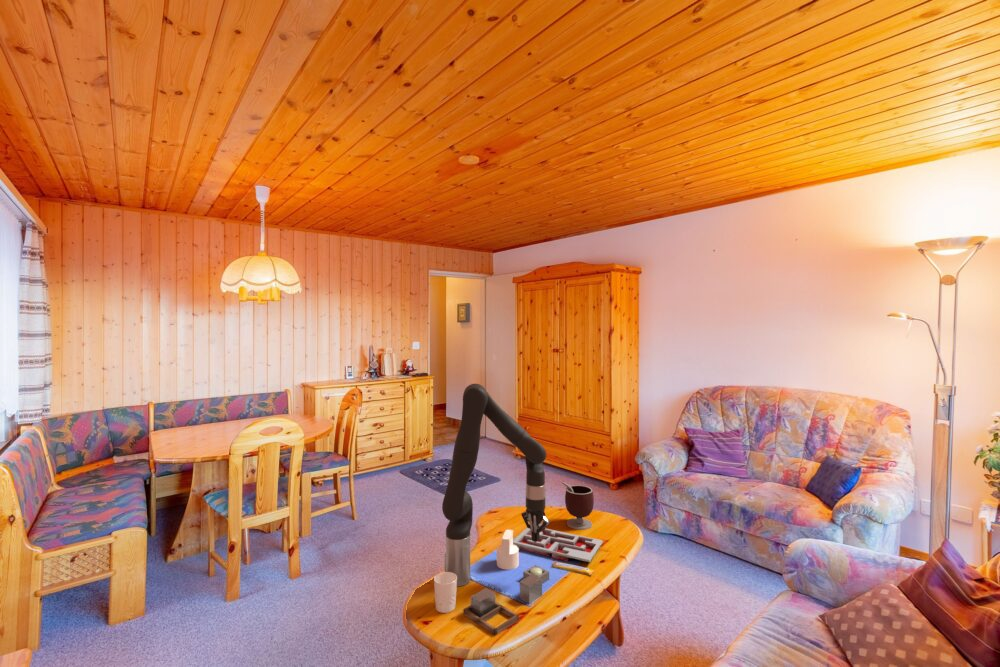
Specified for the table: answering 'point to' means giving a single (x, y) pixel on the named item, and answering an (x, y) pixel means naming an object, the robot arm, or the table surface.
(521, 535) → the maze game
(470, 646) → the table surface
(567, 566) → the candy bar
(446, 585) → the white cup
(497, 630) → the frame
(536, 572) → the button
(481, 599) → the seated billet
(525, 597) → the block
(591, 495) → the mate gourd
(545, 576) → the button housing
